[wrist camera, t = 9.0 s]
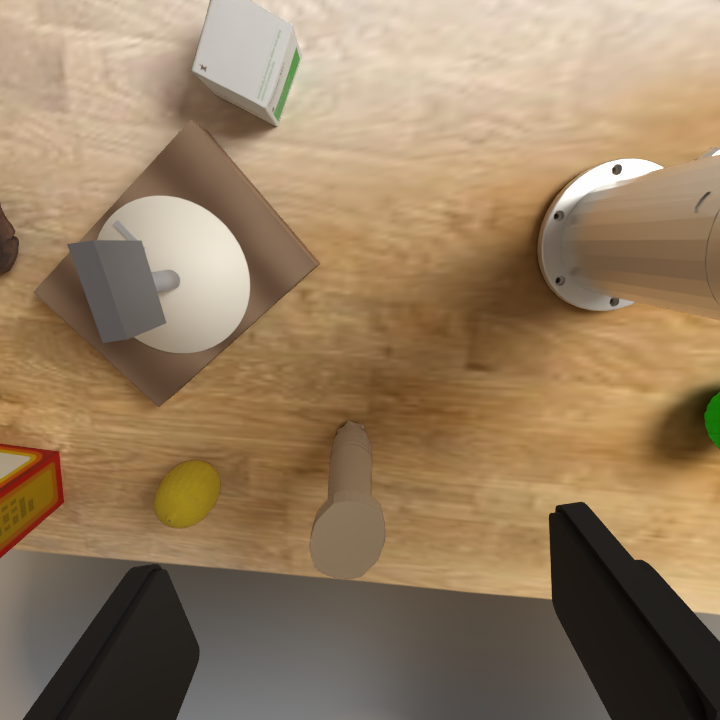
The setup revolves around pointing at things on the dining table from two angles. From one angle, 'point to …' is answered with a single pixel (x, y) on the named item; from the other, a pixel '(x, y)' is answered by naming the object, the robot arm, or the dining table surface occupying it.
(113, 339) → the grey block with rod
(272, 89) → the small box
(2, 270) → the broken clay pot
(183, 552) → the dining table surface
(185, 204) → the dial
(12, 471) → the baking soda box
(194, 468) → the lemon
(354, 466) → the handle
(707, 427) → the ornament
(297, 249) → the board
